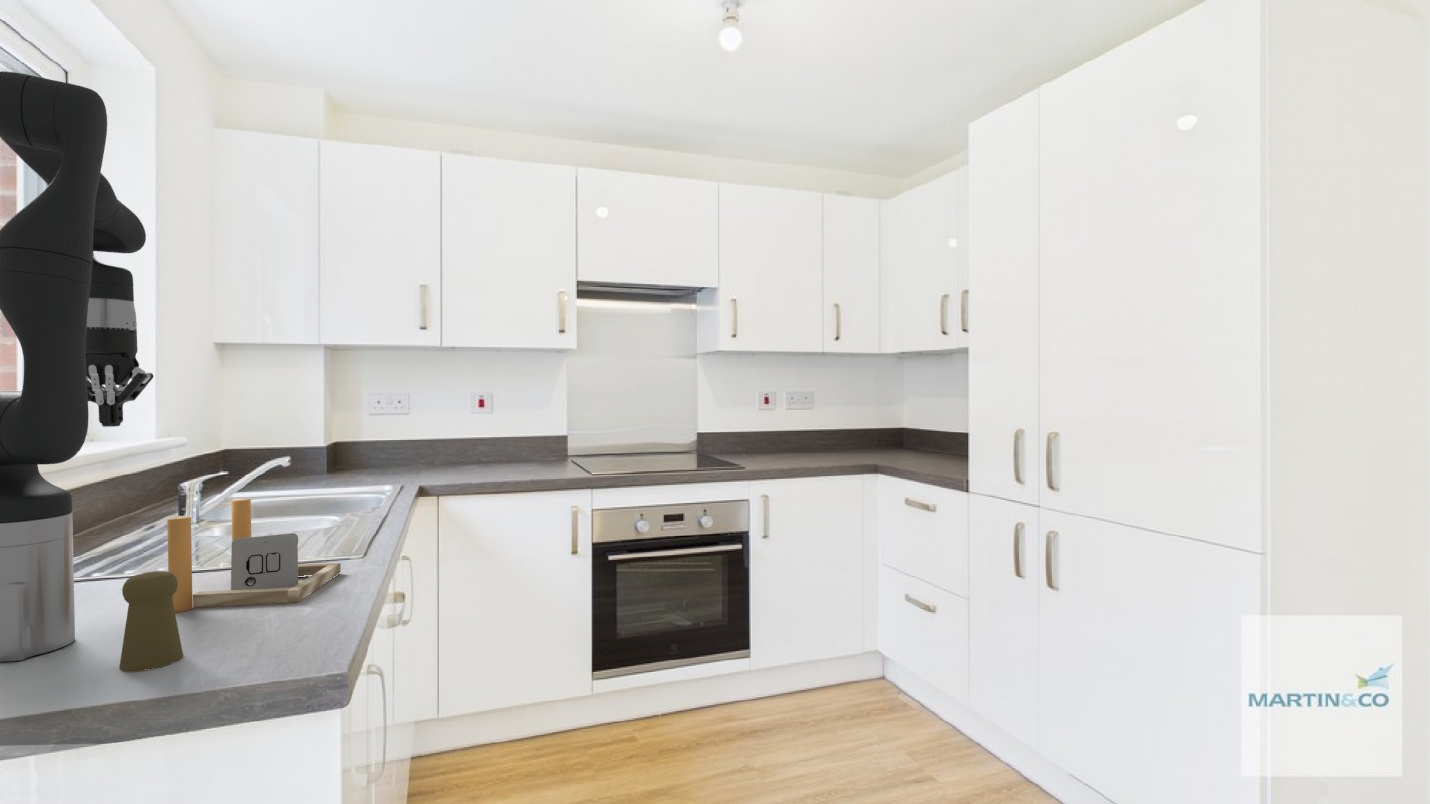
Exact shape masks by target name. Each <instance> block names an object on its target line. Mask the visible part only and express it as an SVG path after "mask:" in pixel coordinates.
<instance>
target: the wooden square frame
mask: <svg viewBox="0 0 1430 804" xmlns="http://www.w3.org/2000/svg"><path fill="white" fill-rule="evenodd" d="M341 564H342V563H341V562H332V563H331V562H327V563H302V564H298V576H304V575H312V576H310V577H306V578H305V579H304V580H302V581H300V582H298V584H297V585H296V586H294V587H292V588H271V589H249V590H231V589H230V590H207V591H198V592H195V593H192V603H193V608H210V607H211V608H212V607H233V606H235V607H236V606H250V605H251V606H252V605H254V606H255V605H273V604H293V603H294V604H295V603H297V604H298V603H300V602H301V601H302V599H303V600H304V599H306V598H307V597H308V596H309V595H308V594H309V593H311V594H313V593H315V592H316V591H317V590H319V589H320V588H321V587H320V586H322V585H323V584H324V583H326V582H327V581H329V580H330V579H331V578H333V577H334V576H336V575H337V574H339V573H340V572H341V569H342V568H341ZM341 573H342V572H341ZM329 582H330V581H329ZM326 584H327V583H326ZM323 586H324V585H323ZM323 586H322V587H323ZM319 587H320V588H319ZM318 588H319V589H318ZM316 589H317V590H316ZM315 590H316V591H315ZM312 592H313V593H312ZM307 595H308V596H307ZM306 596H307V597H306ZM299 601H300V602H299Z"/></svg>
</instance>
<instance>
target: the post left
mask: <svg viewBox="0 0 1430 804" xmlns="http://www.w3.org/2000/svg"><path fill="white" fill-rule="evenodd" d="M166 521H167V526H166V527H167V561H168V562H167V568H168V569H167V570H168V571H167V572H171V573H173V574H174V576H175V577H176V578H177V581H178V586H177V590H176V592H175V593H174V595H173V596H172V600H173V605H174V610H175V614H176V613H183V612H186V611H190V610H192V609H193V608H194V607H193V563H192V562H193V560H192V559H193V558H192V553H193V552H192V551H193V550H192V549H193V548H192V517H191V516H178V517H172V518H168V519H166Z"/></svg>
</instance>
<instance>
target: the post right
mask: <svg viewBox="0 0 1430 804" xmlns="http://www.w3.org/2000/svg"><path fill="white" fill-rule="evenodd" d="M251 505H252V501H251V498H240V499H232V500H231V543H232V542H233V541H234V540H235V539H238V538H248V537H252V506H251Z"/></svg>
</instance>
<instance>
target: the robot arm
mask: <svg viewBox="0 0 1430 804" xmlns="http://www.w3.org/2000/svg"><path fill="white" fill-rule="evenodd" d="M107 114H108V113H107V108H106V104H105V102H104V100H103V98H102V97H101V96H100V94H99V93H98V92H97V91H95V90H93V89H91V88H88V87H86V86H82V85H77V84H74V83H70V82H64V81H59V80H54V79H50V78H46V77H40V76H36V75H30V74H27V73H22V72H21V73H20V72H14V71H3V70H2V71H0V139H1V140H2V141H3V142H4V144H6V145H7V146H8V147H9V148H10V149H11V151H13V152H14V153H15V155H17V156H18V158H20V159H21V160H22V161H23V162H24V163H25V164H26V165H27V167H29V168H30V169H31V170H32V171H33V172H34V173H35V174H36V175H37V176H38V177H40V178H41V179H42V181H43V182H45V184H46V185H47V186H46V188H45V189H44V190H43V191H41V193H40V194H38V196H36V197H35V198H34V199H33V200H32V201H31V202H29V203H27V205H26V206H24V207H23V208H22V209H21V210H19V212H17V213H16V214H14V215H13V216H12V217H11V218H10V219H9V220H7V221H6V223H5V224H4V225H3V226H2V227H1V228H0V312H1V314H2V316H3V317H4V318H5V320H6V321H7V323H8V324H9V326H10V327H11V329H12V331H13V333H14V334H15V336H16V338H17V339H18V342H19V344H20V347H21V350H22V355H23V381H22V382H23V383H22V389H21V392H17V393H16V392H15V393H14V392H13V393H11V392H10V393H9V392H7V393H5V392H4V393H0V662H16V661H18V662H19V661H23V660H25V659H28V658H30V657H34V656H37V655H41V654H45V653H48V652H52V651H55V650H57V649H58V650H59V649H61V648H63V647H65V646H67V645H70V644H71V643H73V642H74V641H75V639H76V630H75V629H76V622H75V621H76V620H75V619H76V618H75V615H76V614H75V575H74V530H73V529H74V525H73V524H74V523H73V522H74V521H73V520H74V519H73V497H72V494H71V493H70V492H69V491H68V490H66V489H64V488H62V487H59V486H56V485H55V484H52V483H51V482H50V481H48V480H47V479H45V478H44V477H43V476H42V474H41V473H40V469H39V465H56V464H62V463H64V462H67V461H69V460H71V459H72V458H73V457H76V455H77V454H78V453H79V452H80V451H81V449H82V448H83V446H84V444H85V442H86V438H87V435H88V429H89V402H92V403H95V404H96V405H97V406H98V421H99V423H100V424H101V426H102V427H104V428H108V427H109V428H112V427H119V426H121V425H122V423H123V422H124V408H123V406H124V404H125V403H128V402H131V401H132V402H134V401H135V400H136V399H137V398H138V397H139V395H141V393H142V392H143V391H144V390H145V388H147V386H148V384H149V383H150V382H151V381H152V380H153V378H154V374H153V373H152V372H147V371H145V370H143V368H141V367H140V363H139V361H138V360H137V357H136V355H137V353H138V333H137V332H138V331H137V330H138V329H137V328H138V327H137V325H138V322H137V314H136V313H137V312H136V308H135V298H134V297H135V296H134V295H135V294H134V291H135V290H134V277H133V273H132V271H130V270H129V269H128V268H125V267H122V266H117V265H112V264H109V263H104V262H101V261H99V260H98V259H97V258H96V257H95V254H94V252H102V253H114V254H115V253H116V254H134V253H137V252H138V251H140V250H141V249H143V247H144V245H145V244H146V239H147V233H146V230H145V226H144V224H143V223H142V221H141V219H140V218H139V217H138V216H137V215H136V213H134V212H133V211H132V210H131V209H130V208H129V207H127V206H126V205H125V204H124V203H122V202H121V200H119V199H118V198H117V195H116V193H115V191H114V189H113V186H112V185H111V183H110V182H109V179H107V178H106V176H105V175H104V174H103V173H102V171H101V170H102V166H103V161H104V154H105V148H106V141H107V134H108V115H107ZM129 381H130V382H129Z"/></svg>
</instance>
